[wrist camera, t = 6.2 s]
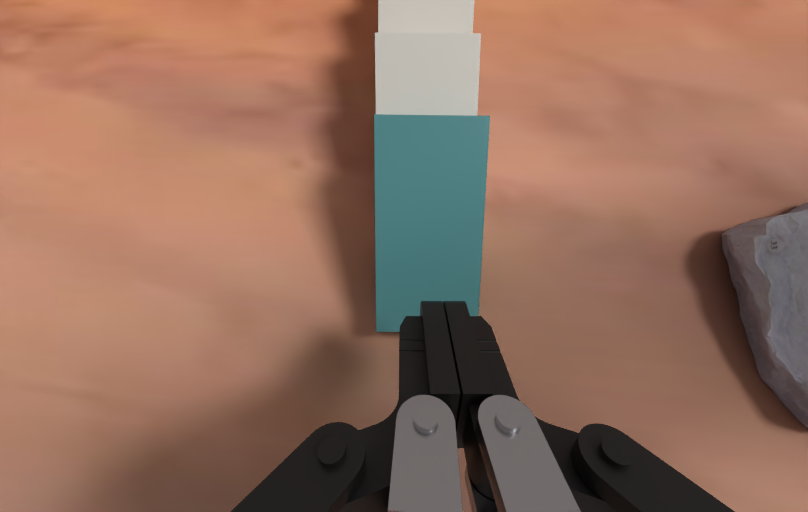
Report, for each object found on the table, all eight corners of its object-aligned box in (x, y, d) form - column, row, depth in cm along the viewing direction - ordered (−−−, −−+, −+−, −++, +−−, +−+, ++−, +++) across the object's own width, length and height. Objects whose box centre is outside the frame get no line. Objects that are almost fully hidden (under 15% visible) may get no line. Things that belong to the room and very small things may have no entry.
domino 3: (378, 316, 17) (377, 125, 15) (468, 316, 17) (478, 126, 15) (376, 331, 15) (374, 114, 13) (477, 332, 15) (490, 115, 13)
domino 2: (380, 238, 18) (377, 52, 16) (463, 238, 18) (471, 53, 16) (377, 243, 16) (374, 32, 14) (471, 243, 16) (481, 33, 14)
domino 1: (379, 169, 19) (381, -12, 17) (458, 171, 19) (468, -9, 17) (377, 165, 17) (378, -39, 15) (464, 167, 17) (476, -36, 15)
